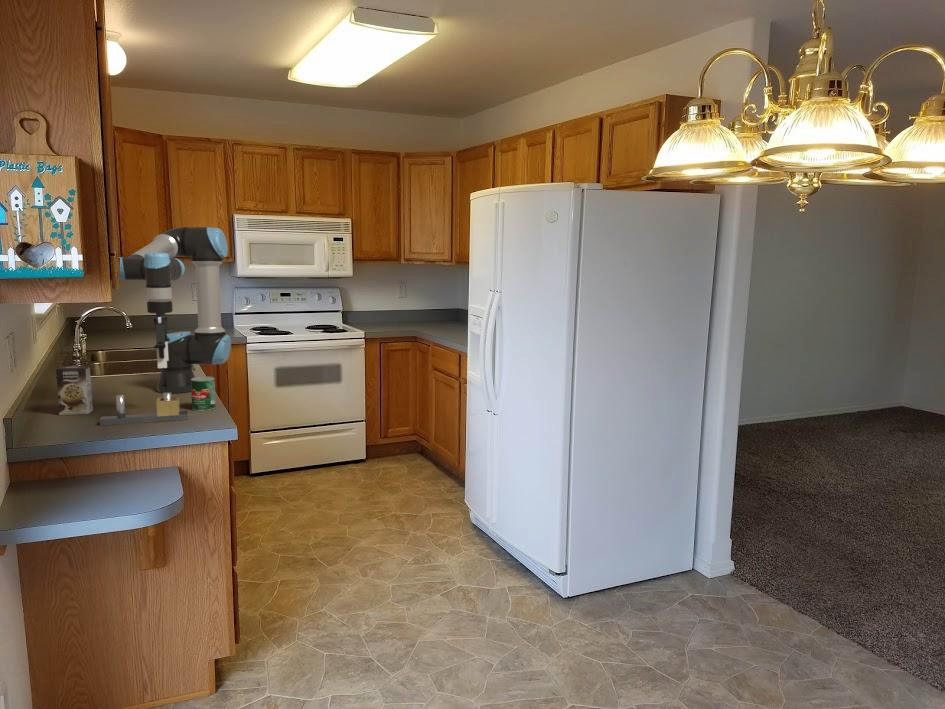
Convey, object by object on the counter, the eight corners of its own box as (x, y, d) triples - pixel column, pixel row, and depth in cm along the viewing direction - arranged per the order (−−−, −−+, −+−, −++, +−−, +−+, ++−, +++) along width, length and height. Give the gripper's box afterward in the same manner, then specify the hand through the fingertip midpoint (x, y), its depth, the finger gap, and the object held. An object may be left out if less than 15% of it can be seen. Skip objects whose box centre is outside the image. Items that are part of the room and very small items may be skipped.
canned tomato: (192, 412, 236) (190, 381, 234) (192, 407, 243) (190, 377, 242) (216, 410, 239) (215, 379, 237) (215, 405, 246) (214, 375, 245)
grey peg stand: (101, 422, 220) (99, 395, 218) (188, 416, 229) (187, 390, 228) (100, 425, 216) (98, 398, 215) (188, 419, 226) (186, 393, 224)
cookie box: (58, 415, 228) (54, 368, 226) (64, 411, 235) (60, 365, 232) (88, 414, 231) (85, 367, 228) (93, 409, 237) (90, 364, 235)
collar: (158, 412, 227) (157, 397, 226) (179, 410, 229) (178, 396, 228) (157, 416, 221) (156, 401, 220) (178, 415, 223) (178, 400, 222)
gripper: (149, 297, 231) (153, 358, 234) (144, 304, 208) (148, 371, 211) (173, 297, 234) (176, 357, 237) (170, 303, 211) (174, 370, 214)
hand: (163, 364), depth 224 cm, fingers open, 13 cm apart
